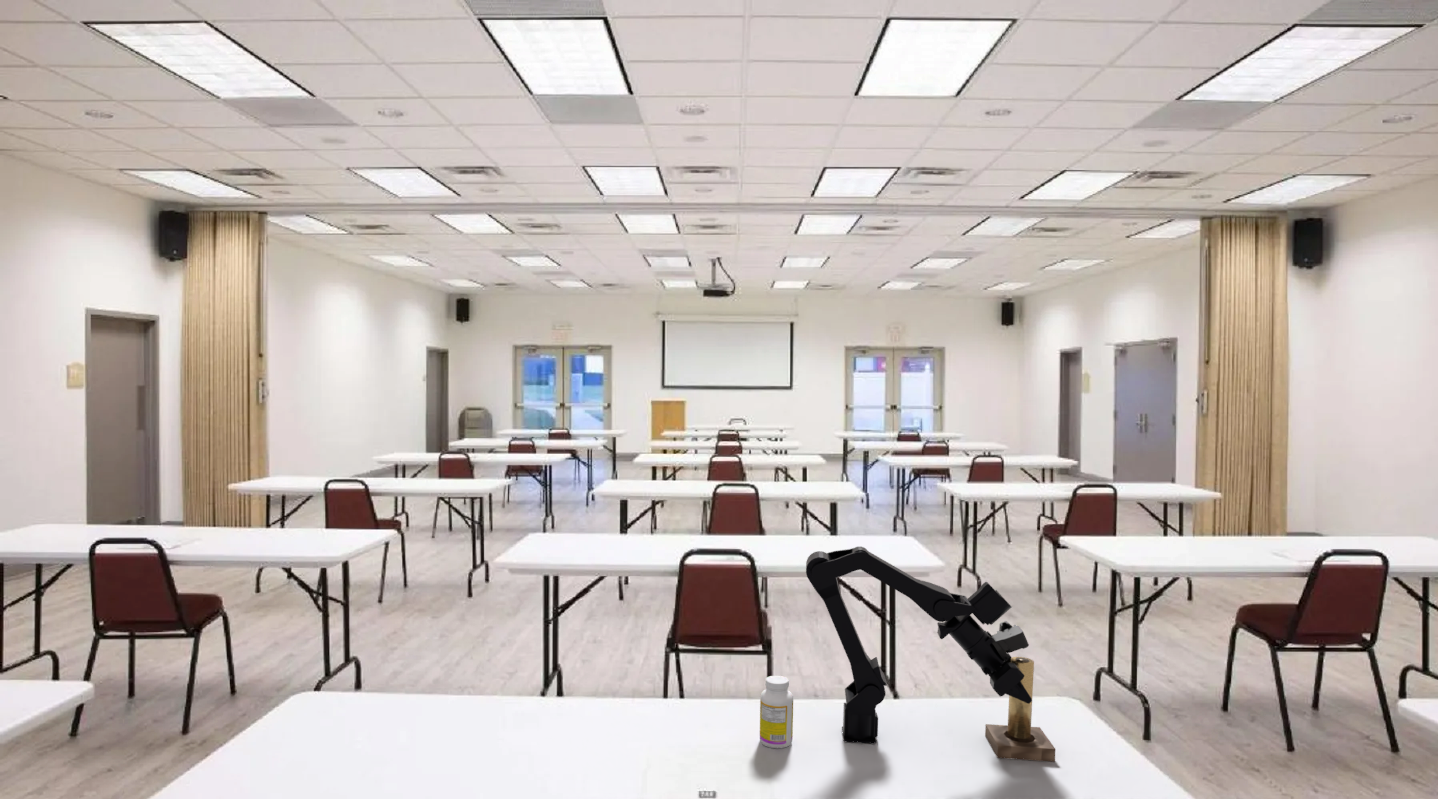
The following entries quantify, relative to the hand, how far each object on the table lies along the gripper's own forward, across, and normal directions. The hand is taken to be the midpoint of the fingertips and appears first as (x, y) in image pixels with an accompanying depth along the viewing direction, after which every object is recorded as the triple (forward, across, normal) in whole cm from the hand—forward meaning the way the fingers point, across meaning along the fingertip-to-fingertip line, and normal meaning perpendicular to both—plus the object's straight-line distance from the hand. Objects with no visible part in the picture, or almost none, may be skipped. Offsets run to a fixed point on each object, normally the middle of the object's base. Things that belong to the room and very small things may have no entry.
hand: (1027, 697), depth 167 cm
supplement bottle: (-28, -6, +43) cm, 52 cm away
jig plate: (+7, 0, +8) cm, 11 cm away
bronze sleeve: (+4, 0, +6) cm, 8 cm away
